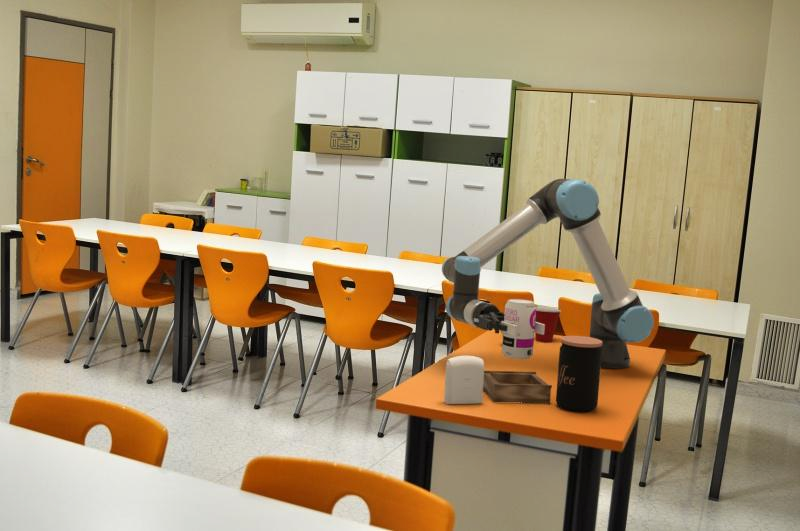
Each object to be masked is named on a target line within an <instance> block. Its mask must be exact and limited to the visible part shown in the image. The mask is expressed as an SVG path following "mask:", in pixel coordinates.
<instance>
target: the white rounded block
mask: <svg viewBox="0 0 800 531" xmlns="http://www.w3.org/2000/svg"><path fill="white" fill-rule="evenodd" d="M484 362H485V361H484V359H482V358H481V357H478V356H474V355H459V356H458V355H457V356H454V357H451V358H448V359H447V360H446V363H445V379H444V394H443V395H444V397H443V398H444V399H443V401H444V404H446V405H464V404H465V405H466V404H472V405H473V404H482V403H483V398H484V396H483V394H484V390H483V381H484V371H485V363H484Z"/></svg>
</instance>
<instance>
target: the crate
mask: <svg viewBox="0 0 800 531" xmlns="http://www.w3.org/2000/svg"><path fill="white" fill-rule="evenodd" d="M552 388H553V385H552V384H548V383H547V382H546V381H545V380H543V378H541V377H540V376H539V375H537V372H536V371H520V370H519V371H516V370H515V371H514V370H512V371H509V370H484V381H483V392H484V393H485V392H486V395H487V396H488V397H489V399H490V400H491V401H492V402H493V401H494V402H520V403H519V404H541V403H544V405H545V403H546V404H547V405H548V404H549V405H550V404H551V393H552ZM494 402H493V403H494ZM521 402H522V403H521Z"/></svg>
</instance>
